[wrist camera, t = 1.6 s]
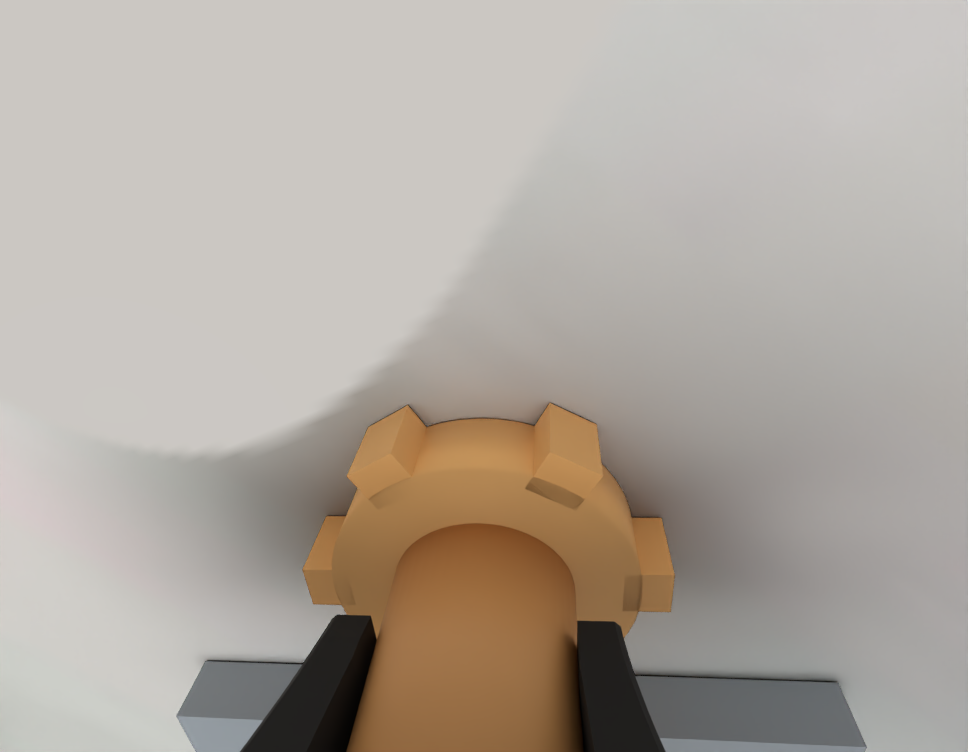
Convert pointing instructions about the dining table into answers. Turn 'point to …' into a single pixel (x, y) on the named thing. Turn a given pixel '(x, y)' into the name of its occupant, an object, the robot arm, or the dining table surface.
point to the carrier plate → (670, 700)
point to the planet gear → (483, 578)
